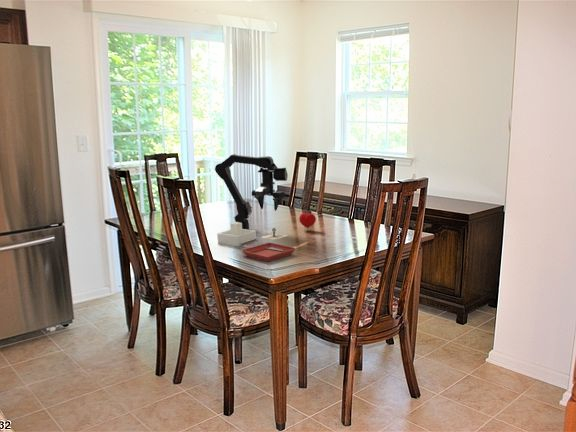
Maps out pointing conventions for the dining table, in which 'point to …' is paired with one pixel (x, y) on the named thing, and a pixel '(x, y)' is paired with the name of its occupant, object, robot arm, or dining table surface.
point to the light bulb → (307, 220)
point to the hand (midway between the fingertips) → (268, 209)
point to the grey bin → (236, 237)
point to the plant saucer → (268, 251)
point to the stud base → (274, 235)
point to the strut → (236, 228)
